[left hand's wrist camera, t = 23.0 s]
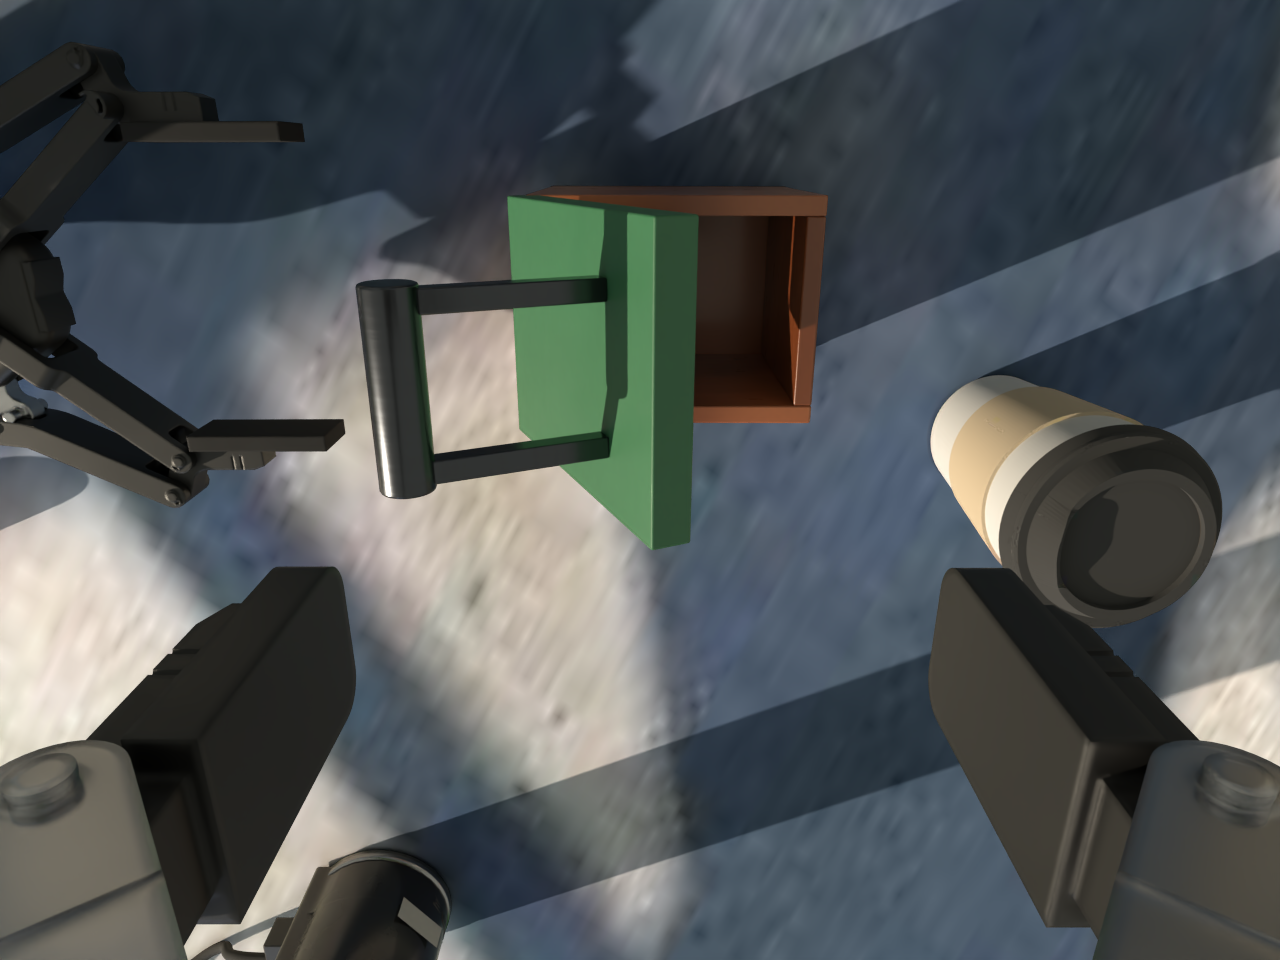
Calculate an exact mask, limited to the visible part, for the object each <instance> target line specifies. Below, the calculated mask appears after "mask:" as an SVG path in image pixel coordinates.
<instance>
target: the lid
mask: <svg viewBox="0 0 1280 960" xmlns="http://www.w3.org/2000/svg"><path fill="white" fill-rule="evenodd" d="M507 200H508V219H509V238H510V257H511V276H512V280H502V281H485V282H467V283H450V284H433V285H418V283H417V282H415V281H412V280H405V279H382V280H371V281H364V282H361V283H358V284H357V285H356V295H357V304H358V312H359V320H360V329H361V337H362V346H363V354H364V362H365V371H366V379H367V388H368V396H369V405H370V413H371V421H372V430H373V438H374V447H375V455H376V463H377V472H378V480H379V489H380V492H381V493H382V495H384V496H386V497H389V498H394V499H411V498H417V497H421V496H425V495H427V494H430V493H431V492H433V491H434V490H435V489H436V486H437V484H441V483H448V482H454V481H461V480H468V479H474V478H481V477H487V476H494V475H500V474H507V473H513V472H520V471H527V470H533V469H540V468H546V467H553V466H560V467H561V468H562V469H564V470H565V471H566V472H567V473H568V474H569V475H570V476H571V477H572V478H573V479H574V480H576V481H577V482H578V483H579V484H580V485H581V486H582V487H583V488H584V489H585V490H586V491H588V492H589V493H590V494H591V495H592V496H593V497H594V498H595V499H596V500H597V501H599V502H600V503H601V504H602V505H603V506H604V507H605V508H606V509H607V510H608V511H609V512H611V513H612V514H613V515H614V516H615V517H616V518H617V519H618V520H619V521H620V522H621V523H623V524H624V525H625V526H626V527H627V528H628V529H629V530H630V531H631V532H632V533H634V534H635V535H636V536H637V537H638V538H639V539H640V540H641V541H642V542H643V543H644V544H646V545H647V546H648V547H649V548H650V549H651V550H656V549H661V548H666V547H671V546H676V545H681V544H685V543H689V542H690V525H691V488H692V450H693V413H694V375H695V338H696V300H697V263H698V225H699V217H698V215H697V214H691V213H683V212H674V211H666V210H658V209H649V208H641V207H633V206H624V205H616V204H608V203H599V202H591V201H583V200H574V199H566V198H558V197H549V196H541V195H518V196H508V198H507ZM502 309H513V315H514V334H515V353H516V372H517V391H518V410H519V429H520V430H521V431H522V432H523V433H524V434H525V435H526V436H527V437H529V438H530V439H531V440H532V441H526V442H519V443H511V444H504V445H497V446H490V447H482V448H475V449H468V450H461V451H453V452H446V453H439V454H434V448H433V437H432V426H431V415H430V404H429V393H428V382H427V372H426V361H425V350H424V339H423V328H422V317H421V315H432V314H446V313H460V312H474V311H488V310H502Z"/></svg>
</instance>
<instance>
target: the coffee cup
mask: <svg viewBox="0 0 1280 960" xmlns="http://www.w3.org/2000/svg"><path fill="white" fill-rule="evenodd" d="M931 451H932V456H933V459H934V462H935V464H936V466H937V468H938V469H939V471H940V472H941V474H942V475H943V477H944V478H945V480H946V481H947V482H948V484H949V485H950V487H951V488H952V490H953V493H954V495H955V497H956V499H957V501H958V502H959V504H960V505H961V507H962V508H963V510H964V511H965V513H966V514H967V516H968V517H969V519H970V520H971V522H972V523H973V525H974V526H975V528H976V529H977V531H978V532H979V534H980V535H981V537H982V538H983V540H984V541H985V543H986V545H987V546H988V548H989V549H990V551H991V552H992V554H993V555H994V556H995V558H996V559H997V560H998V561H999V562H1000V563H1001V564H1002V566H1003V568H1009V569H1011V570H1013V571H1014V572H1015V573H1016V574H1017V576H1018V577H1019V578H1020V579H1021V580H1022V581H1023V582H1024V583H1025V584H1026V585H1027V587H1028V588H1029V589H1030V590H1031V591H1032V592H1033V593H1034V594H1035V595H1036V597H1037V598H1038V599H1039V600H1040V601H1041V602H1042V603H1043V604H1044V605H1054V606H1056V607H1058V608H1059V609H1061V610H1063V611H1064V612H1066V613H1068V614H1070V615H1071V616H1073V617H1075V618H1077V619H1078V620H1080V621H1082V622H1083V623H1085V624H1087V625H1089V626H1090V627H1091V628H1105V627H1114V626H1119V625H1124V624H1128V623H1131V622H1135V621H1137V620H1140V619H1143V618H1145V617H1147V616H1149V615H1151V614H1153V613H1156V612H1158V611H1160V610H1162V609H1164V608H1166V607H1167V606H1169V605H1171V604H1172V603H1174V602H1175V601H1176V600H1178V599H1179V598H1180V597H1182V596H1183V595H1184V594H1185V593H1186V592H1187V591H1188V590H1189V589H1190V588H1191V587H1192V586H1193V585H1194V584H1195V583H1196V581H1197V580H1198V579H1199V578H1200V576H1201V575H1202V573H1203V572H1204V570H1205V568H1206V567H1207V565H1208V563H1209V560H1210V558H1211V556H1212V553H1213V550H1214V548H1215V545H1216V542H1217V539H1218V536H1219V532H1220V528H1221V521H1222V499H1221V493H1220V489H1219V486H1218V483H1217V480H1216V478H1215V476H1214V474H1213V472H1212V470H1211V468H1210V467H1209V466H1208V464H1207V463H1206V462H1205V460H1204V459H1203V458H1202V457H1201V456H1200V455H1199V454H1198V452H1197V451H1196V450H1195V449H1194V448H1193V447H1192V446H1191V445H1189V444H1188V443H1187V442H1185V441H1184V440H1183V439H1181V438H1179V437H1178V436H1176V435H1174V434H1172V433H1170V432H1167V431H1165V430H1162V429H1159V428H1155V427H1150V426H1145V425H1143V424H1141V423H1140V422H1138V421H1136V420H1134V419H1131V418H1129V417H1126V416H1124V415H1121V414H1119V413H1116V412H1113V411H1111V410H1108V409H1106V408H1103V407H1100V406H1098V405H1095V404H1092V403H1090V402H1087V401H1085V400H1082V399H1079V398H1077V397H1074V396H1072V395H1069V394H1066V393H1064V392H1061V391H1058V390H1055V389H1052V388H1046V387H1039V386H1037V385H1034V384H1032V383H1029V382H1027V381H1024V380H1022V379H1019V378H1016V377H1012V376H1005V375H994V376H988V377H983V378H980V379H977V380H974V381H972V382H970V383H968V384H966V385H965V386H963V387H962V388H960V389H959V390H957V391H956V392H955V393H954V394H953V395H952V396H951V397H950V398H949V399H948V400H947V401H946V402H945V404H944V405H943V406H942V408H941V409H940V411H939V413H938V415H937V417H936V419H935V422H934V424H933V428H932V433H931Z"/></svg>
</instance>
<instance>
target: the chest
mask: <svg viewBox="0 0 1280 960" xmlns="http://www.w3.org/2000/svg"><path fill="white" fill-rule="evenodd" d="M527 195H541V196H549V197H558V198H566V199H574V200H583V201H591V202H599V203H608V204H616V205H624V206H633V207H641V208H649V209H658V210H666V211H674V212H683V213H691V214H697V215H698V217H699V225H698V263H697V300H696V338H695V375H694V413H693V423H809V422H810V414H811V406H810V405H811V402H812V389H813V377H814V364H815V351H816V339H817V326H818V314H819V301H820V288H821V276H822V263H823V251H824V238H825V225H826V217H825V216H826V215H827V203H828V196H827V195H823V194H818V193H813V192H807V191H802V190H797V189H792V188H787V187H784V186H551V187H549V188H546V189H543V190H540V191H536V192H533V193H530V194H527Z"/></svg>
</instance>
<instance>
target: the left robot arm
mask: <svg viewBox="0 0 1280 960" xmlns="http://www.w3.org/2000/svg"><path fill="white" fill-rule="evenodd" d="M928 684H929V695H930V701H931V705H932V709H933V712H934V715H935V717H936V720H937V721H938V723H939V725H940V727H941V729H942V731H943V733H944V735H945V737H946V739H947V740H948V742H949V744H950V746H951V748H952V750H953V752H954V754H955V756H956V757H957V759H958V761H959V763H960V765H961V767H962V769H963V771H964V773H965V774H966V776H967V778H968V780H969V782H970V784H971V786H972V788H973V790H974V791H975V793H976V795H977V797H978V799H979V801H980V803H981V805H982V807H983V809H984V810H985V812H986V814H987V816H988V818H989V820H990V822H991V824H992V826H993V827H994V829H995V831H996V833H997V835H998V837H999V839H1000V841H1001V843H1002V844H1003V846H1004V848H1005V850H1006V852H1007V854H1008V856H1009V858H1010V860H1011V862H1012V863H1013V865H1014V867H1015V869H1016V871H1017V873H1018V875H1019V877H1020V879H1021V880H1022V882H1023V884H1024V886H1025V888H1026V890H1027V892H1028V894H1029V896H1030V897H1031V899H1032V901H1033V903H1034V905H1035V907H1036V909H1037V911H1038V913H1039V915H1040V916H1041V918H1042V920H1043V922H1044V924H1045V926H1046V927H1091V929H1092V930H1093V932H1094V934H1095V936H1096V937H1097V939H1098V942H1097V945H1096V949H1095V952H1094V956H1093V960H1280V767H1279V766H1278V765H1276V764H1274V763H1272V762H1270V761H1268V760H1266V759H1264V758H1261V757H1259V756H1257V755H1255V754H1252V753H1249V752H1247V751H1244V750H1241V749H1238V748H1234V747H1231V746H1228V745H1223V744H1219V743H1214V742H1207V741H1200V740H1199V739H1198V738H1197V737H1196V736H1195V735H1194V734H1193V733H1192V732H1191V731H1190V730H1189V729H1188V728H1187V727H1186V726H1185V725H1184V724H1183V723H1182V722H1181V721H1180V720H1179V719H1178V718H1177V717H1176V715H1175V714H1174V713H1173V712H1172V711H1171V710H1170V709H1169V708H1168V707H1167V706H1166V705H1165V704H1164V703H1163V702H1162V701H1161V700H1160V699H1159V698H1158V697H1157V696H1156V695H1155V694H1154V693H1153V692H1152V691H1151V689H1150V688H1149V687H1148V686H1147V685H1146V684H1145V683H1144V682H1143V681H1142V680H1141V679H1140V678H1139V677H1134V676H1133V671H1132V670H1131V669H1130V668H1129V667H1128V666H1127V665H1126V663H1125V662H1124V661H1123V660H1122V659H1121V658H1120V657H1119V656H1114V655H1113V650H1112V649H1111V648H1110V647H1109V646H1108V645H1107V644H1106V643H1105V642H1104V641H1103V640H1102V638H1101V637H1100V636H1099V635H1098V634H1097V633H1096V632H1095V631H1094V630H1093V629H1092V628H1091V627H1090V626H1089V625H1087V624H1085V623H1083V622H1082V621H1080V620H1078V619H1077V618H1075V617H1073V616H1071V615H1070V614H1068V613H1066V612H1064V611H1063V610H1061V609H1059V608H1058V607H1056V606H1054V605H1044V604H1043V603H1042V602H1041V601H1040V600H1039V599H1038V598H1037V597H1036V595H1035V594H1034V593H1033V592H1032V591H1031V590H1030V589H1029V588H1028V587H1027V585H1026V584H1025V583H1024V582H1023V581H1022V580H1021V579H1020V578H1019V577H1018V576H1017V574H1016V573H1015V572H1014V571H1013V570H1011V569H1009V568H950V569H949V570H948V571H947V572H946V573H945V575H944V577H943V581H942V584H941V590H940V597H939V604H938V610H937V617H936V624H935V631H934V638H933V644H932V651H931V658H930V665H929V675H928ZM355 687H356V669H355V661H354V654H353V647H352V640H351V633H350V626H349V619H348V612H347V606H346V599H345V592H344V585H343V581H342V577H341V575H340V573H339V571H338V570H337V569H336V568H335V567H275V568H273V569H272V570H271V571H270V572H269V573H268V574H267V575H266V577H265V578H264V579H263V580H262V581H261V582H260V583H259V584H258V585H257V587H256V588H255V589H254V590H253V591H252V592H251V593H250V594H249V596H248V597H247V598H246V599H245V600H244V601H243V602H242V603H232V604H230V605H229V606H227V607H225V608H223V609H222V610H220V611H218V612H217V613H215V614H213V615H211V616H210V617H208V618H206V619H205V620H203V621H201V622H199V623H198V624H196V625H195V626H194V627H193V628H192V629H191V630H190V631H189V632H188V633H187V634H186V636H185V637H184V638H183V639H182V640H181V641H180V642H179V643H178V644H177V645H176V646H175V647H174V648H173V653H172V654H167V655H166V656H165V658H164V659H163V660H162V661H161V662H160V663H159V664H158V665H157V666H156V667H155V668H154V669H153V674H152V675H147V676H146V677H145V679H144V680H143V681H142V682H141V683H140V684H139V685H138V686H137V687H136V688H135V689H134V690H133V691H132V692H131V693H130V694H129V695H128V696H127V697H126V698H125V700H124V701H123V702H122V703H121V704H120V705H119V706H118V707H117V708H116V709H115V710H114V711H113V712H112V713H111V714H110V715H109V716H108V717H107V718H106V719H105V721H104V722H103V723H102V724H101V725H100V726H99V727H98V728H97V729H96V730H95V731H94V732H93V733H92V734H91V735H90V736H89V737H88V738H87V739H86V740H81V741H73V742H66V743H61V744H57V745H52V746H49V747H46V748H42V749H39V750H36V751H33V752H31V753H28V754H25V755H23V756H21V757H19V758H16V759H14V760H12V761H10V762H8V763H6V764H4V765H2V766H1V767H0V960H187V956H186V952H185V949H184V945H185V943H186V941H187V940H188V938H189V936H190V934H191V933H192V931H193V929H194V927H195V926H196V924H241V922H242V920H243V918H244V916H245V914H246V912H247V910H248V908H249V907H250V905H251V903H252V901H253V899H254V897H255V895H256V893H257V891H258V889H259V887H260V885H261V884H262V882H263V880H264V878H265V876H266V874H267V872H268V870H269V868H270V866H271V864H272V862H273V861H274V859H275V857H276V855H277V853H278V851H279V849H280V847H281V845H282V843H283V841H284V840H285V838H286V836H287V834H288V832H289V830H290V828H291V826H292V824H293V822H294V820H295V818H296V817H297V815H298V813H299V811H300V809H301V807H302V805H303V803H304V801H305V799H306V797H307V795H308V794H309V792H310V790H311V788H312V786H313V784H314V782H315V780H316V778H317V776H318V774H319V772H320V771H321V769H322V767H323V765H324V763H325V761H326V759H327V757H328V755H329V753H330V751H331V749H332V748H333V746H334V744H335V742H336V740H337V738H338V736H339V734H340V732H341V730H342V728H343V726H344V725H345V723H346V721H347V719H348V717H349V714H350V712H351V709H352V705H353V701H354V696H355ZM451 907H452V902H451V896H450V892H449V890H448V887H447V885H446V884H445V882H444V881H443V879H442V878H441V877H440V876H439V874H438V873H437V872H436V871H434V870H433V869H432V868H431V867H430V866H428V865H427V864H425V863H424V862H422V861H420V860H418V859H416V858H414V857H412V856H409V855H406V854H403V853H399V852H394V851H387V850H370V851H363V852H358V853H355V854H352V855H349V856H347V857H345V858H343V859H341V860H340V861H338V862H337V863H335V864H334V865H333V866H331V867H318V868H317V869H316V871H315V873H314V875H313V878H312V880H311V882H310V884H309V886H308V889H307V891H306V893H305V895H304V897H303V900H302V902H301V904H300V906H299V908H298V911H297V913H296V915H295V917H294V918H276V920H275V922H274V925H273V927H272V929H271V931H270V933H269V935H268V937H267V939H266V941H265V943H264V946H263V948H264V952H265V953H258V952H243V951H237V950H234V949H233V948H232V945H231V943H230V942H228V941H222V942H218V943H216V944H214V945H212V946H210V947H209V948H207V949H205V950H204V951H202V952H201V953H199V954H198V955H197V956H195V957H194V958H193V959H191V960H208V959H209V958H210V957H212V956H214V955H216V954H219V953H222V956H223V957H224V958H225V959H226V960H437V959H438V955H439V951H440V947H441V944H442V940H443V938H444V934H445V930H446V928H447V925H448V922H449V918H450V914H451Z"/></svg>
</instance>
